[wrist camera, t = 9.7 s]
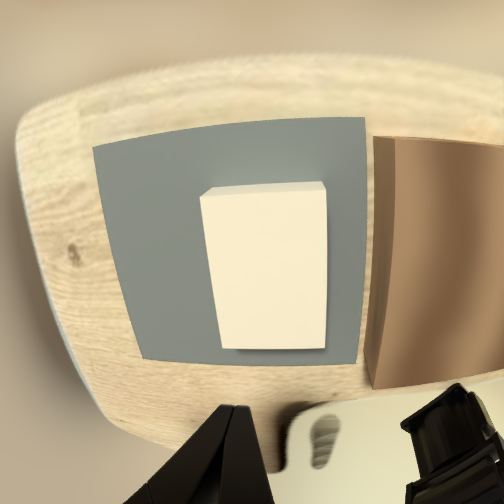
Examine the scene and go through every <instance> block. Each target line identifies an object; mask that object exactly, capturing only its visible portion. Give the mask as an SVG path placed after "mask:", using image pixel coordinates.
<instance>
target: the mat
mask: <svg viewBox="0 0 504 504" xmlns="http://www.w3.org/2000/svg"><path fill="white" fill-rule="evenodd" d="M93 153H94V160H95V167H96V174H97V180H98V186H99V192H100V198H101V203H102V208H103V213H104V218H105V223H106V228H107V233H108V237H109V242H110V246H111V250H112V255H113V259H114V263H115V267H116V271H117V275H118V279H119V282H120V286H121V290H122V293H123V297H124V300H125V304H126V307H127V311H128V314H129V317H130V321H131V324H132V327H133V330H134V333H135V336H136V340H137V343H138V346H139V349H140V351H141V354H142V357H143V359H151V360H161V361H173V362H185V363H200V364H219V365H249V366H305V365H335V364H353V363H356V359H357V351H358V343H359V334H360V325H361V314H362V303H363V291H364V277H365V260H366V236H367V155H366V132H365V117H327V118H297V119H279V120H264V121H252V122H241V123H231V124H222V125H214V126H206V127H198V128H191V129H184V130H178V131H171V132H165V133H159V134H154V135H148V136H143V137H138V138H132V139H128V140H123V141H118V142H113V143H109V144H104V145H100V146H96V147H93ZM318 181H322V183H323V185H324V187H325V189H326V204H327V305H326V334H325V348H311V349H229V348H222V343H221V337H220V331H219V325H218V319H217V313H216V307H215V301H214V295H213V288H212V282H211V275H210V269H209V262H208V255H207V248H206V241H205V234H204V227H203V219H202V212H201V204H200V196H202V195H203V194H204V193H206V192H207V191H208V190H210V189H211V188H213V187H225V186H239V185H254V184H271V183H292V182H318Z"/></svg>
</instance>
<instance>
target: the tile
mask: <svg viewBox="0 0 504 504" xmlns="http://www.w3.org/2000/svg"><path fill="white" fill-rule="evenodd" d="M200 204H201V212H202V219H203V227H204V234H205V241H206V248H207V255H208V262H209V269H210V275H211V282H212V288H213V295H214V301H215V307H216V313H217V319H218V325H219V331H220V337H221V343H222V348H229V349H311V348H325V334H326V305H327V204H326V189H325V187H324V185H323V183H322V181H318V182H292V183H271V184H254V185H239V186H225V187H213V188H211V189H210V190H208V191H207V192H206V193H204V194H203V195H202V196H200Z"/></svg>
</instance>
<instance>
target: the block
mask: <svg viewBox="0 0 504 504" xmlns="http://www.w3.org/2000/svg"><path fill="white" fill-rule="evenodd" d="M373 143H374V235H373V256H372V272H371V285H370V297H369V307H368V317H367V326H366V334H365V342H364V354H365V358H366V362H367V367H368V371H369V376H370V380H371V385H372V389H373V390H376V389H387V388H396V387H404V386H412V385H420V384H427V383H433V382H440V381H446V380H451V379H457V378H462V377H467V376H472V375H477V374H482V373H486V372H491V371H495V370H499V369H503V368H504V146H500V145H493V144H485V143H476V142H467V141H457V140H445V139H432V138H415V137H392V136H373Z"/></svg>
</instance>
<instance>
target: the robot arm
mask: <svg viewBox="0 0 504 504" xmlns="http://www.w3.org/2000/svg"><path fill="white" fill-rule="evenodd" d="M400 425H401V428H402V429H403V430H405V431H406V432H408V433H410V434H411V439H412V443H413V446H414V451H415V455H416V459H417V464H418V469H419V473H420V478H421V479H419V480H417V481H416V482H411V483H409V484H407V485H406V496H405V504H504V440H503V438H502V437H501V436H500V435H499V433H498V432H497V431H496V430H495V428H494V426H493V423H492V421H491V419H490V417H489V415H488V412H487V410H486V408H485V406H484V404H483V402H482V400H481V399H480V398H479V397H478V396H477V395H476V394H475V393H474V392H468V391H467V390H466V389H465V388H464V387H463V386H462V385H461V384H460V383H456V384H454V385H452V386H451V387H450V388H449V389H447V390H446V391H445V392H443V393H442V394H441V395H439V396H438V397H437V398H435V399H434V400H432V401H431V402H430V403H428V404H427V405H425V406H424V407H423V408H421V409H420V410H418V411H417V412H415V413H414V414H412V415H411V416H409V417H408V418H406V419H405V420H403V421H402V422H401V423H400ZM495 431H496V432H495ZM498 459H499V461H498V462H496V463H495V461H496V460H498ZM147 483H148V484H147ZM147 483H145V484H144V485H143V486H142V487H141V488H140V489H139V490H138V491H137V492H135V493H134V494H133V495H132V496H131V497H130V498H129V499H128V500H127V501H126V502H124V503H123V504H275V503H274V501H273V496H272V492H271V489H270V485H269V481H268V477H267V474H266V470H265V466H264V462H263V458H262V454H261V450H260V447H259V443H258V439H257V435H256V431H255V427H254V423H253V418H252V414H251V410H250V407H249V406H246V405H236V406H234V405H226V404H221V405H220V406H218V408H217V409H216V410H215V411H214V412H213V413H212V414H211V415H210V416H209V418H208V419H207V420H206V421H205V422H204V423H203V424H202V425H201V426H200V427H199V428H198V430H197V431H196V432H195V433H194V434H193V435H192V436H191V437H190V438H189V439H188V440H187V441H186V442H185V443H184V444H183V446H182V447H181V448H180V449H179V450H178V451H177V452H176V453H175V454H174V455H173V456H172V457H171V458H170V459H169V460H168V461H167V462H166V463H165V464H164V465H163V466H162V467H161V468H160V469H159V470H158V471H157V472H156V473H155V474H154V475H153V476H152V477H151V478H150V479H149V480H148V482H147Z"/></svg>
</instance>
